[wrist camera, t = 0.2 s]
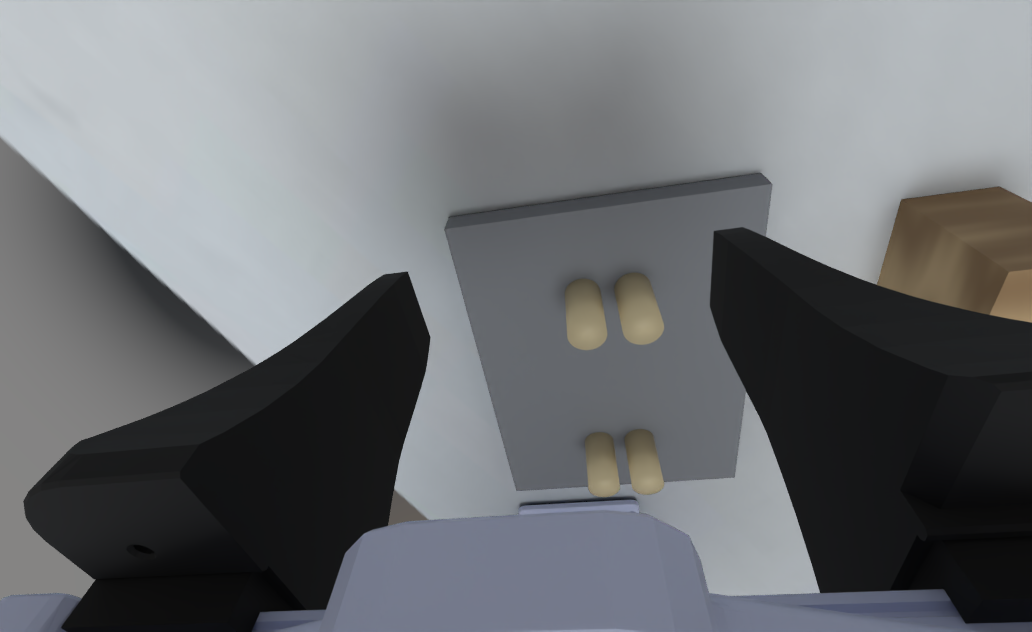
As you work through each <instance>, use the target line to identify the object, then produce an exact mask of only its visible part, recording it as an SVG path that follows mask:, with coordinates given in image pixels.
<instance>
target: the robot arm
mask: <svg viewBox="0 0 1032 632" xmlns="http://www.w3.org/2000/svg"><path fill="white" fill-rule="evenodd" d="M710 309H711V312H712V315H713V318H714V322H715V325H716V328H717V331H718V334H719V337H720V340H721V342H722V344H723V346H724V348H725V350H726V352H727V354H728V356H729V358H730V360H731V362H732V364H733V366H734V368H735V370H736V372H737V374H738V376H739V378H740V380H741V382H742V384H743V386H744V388H745V389H746V391H747V393H748V395H749V397H750V399H751V401H752V403H753V405H754V407H755V409H756V411H757V413H758V415H759V417H760V419H761V421H762V424H763V426H764V428H765V430H766V432H767V435H768V438H769V440H770V443H771V446H772V448H773V451H774V454H775V456H776V459H777V462H778V465H779V467H780V470H781V473H782V476H783V478H784V481H785V484H786V487H787V490H788V493H789V496H790V499H791V502H792V505H793V507H794V510H795V513H796V516H797V519H798V523H799V526H800V529H801V532H802V535H803V538H804V541H805V544H806V548H807V551H808V554H809V557H810V560H811V563H812V566H813V570H814V573H815V577H816V580H817V584H818V587H819V590H820V593H812V594H782V595H752V596H726V595H719V594H712V593H709V591H708V587H707V584H706V580H705V576H704V572H703V568H702V564H701V560H700V558H699V556H698V554H697V552H696V549H695V547H694V545H693V543H692V541H691V539H690V537H689V535H687V534H685V533H683V532H682V531H680V530H678V529H676V528H674V527H672V526H670V525H668V524H666V523H664V522H662V521H660V520H658V519H656V518H654V517H652V516H650V515H648V514H642V513H639V504H638V502H637V501H635V500H614V501H596V502H579V503H561V504H544V505H526V506H522V507H520V508H519V513H518V515H507V516H490V517H473V518H456V519H439V520H423V521H407V522H403V523H398V524H394V525H390V526H388V522H389V515H390V509H391V502H392V496H393V491H394V486H395V480H396V475H397V469H398V464H399V459H400V456H401V452H402V448H403V444H404V441H405V438H406V434H407V431H408V428H409V425H410V421H411V418H412V415H413V412H414V409H415V405H416V402H417V399H418V396H419V392H420V389H421V386H422V382H423V379H424V375H425V372H426V366H427V360H428V353H429V345H430V335H429V332H428V329H427V326H426V323H425V320H424V318H423V315H422V312H421V309H420V306H419V303H418V300H417V297H416V294H415V292H414V289H413V286H412V283H411V280H410V277H409V274H408V272H401V273H393V274H386V275H383V276H381V277H379V278H378V279H376V280H375V281H373V282H372V283H371V284H369V285H368V286H367V287H365V288H364V289H363V290H361V291H360V292H359V293H358V294H356V295H355V296H354V297H353V298H351V299H350V300H349V301H347V302H346V303H345V304H344V305H342V306H341V307H340V308H339V309H337V310H336V311H335V312H334V313H332V314H331V315H330V316H328V317H327V318H326V319H324V320H323V321H322V322H320V323H319V324H318V325H316V326H315V327H314V328H312V329H311V330H309V331H308V332H307V333H305V334H304V335H303V336H301V337H300V338H298V339H297V340H296V341H294V342H293V343H291V344H290V345H288V346H287V347H285V348H284V349H282V350H281V351H279V352H278V353H276V354H274V355H273V356H271V357H269V358H268V359H266V360H264V361H263V362H261V363H259V364H258V365H256V366H254V367H253V368H251V369H249V370H247V371H245V372H243V373H241V374H239V375H238V376H236V377H234V378H232V379H230V380H228V381H226V382H224V383H222V384H220V385H218V386H217V387H214V388H212V389H210V390H208V391H207V392H204V393H202V394H200V395H198V396H196V397H193V398H191V399H189V400H187V401H185V402H182V403H180V404H178V405H175V406H173V407H171V408H168V409H166V410H163V411H161V412H159V413H156V414H153V415H151V416H149V417H146V418H143V419H141V420H138V421H135V422H133V423H130V424H127V425H124V426H121V427H119V428H116V429H113V430H110V431H108V432H105V433H102V434H99V435H96V436H94V437H91V438H88V439H84V440H81V441H80V442H78V443H77V444H76V445H74V446H73V447H72V448H71V449H70V450H69V451H68V452H67V453H66V454H65V455H64V456H63V457H62V458H61V459H60V460H59V461H58V462H57V463H56V464H55V465H54V466H53V467H52V468H51V469H50V470H49V471H48V472H47V473H46V474H45V475H44V476H43V477H42V478H41V480H39V481H38V482H37V484H36V485H35V486H34V487H33V488H32V489H31V490H30V491H29V492H28V494H27V496H26V497H25V499H24V509H25V515H26V518H27V520H28V522H29V523H30V525H31V527H32V528H33V529H34V531H36V533H38V534H39V535H40V536H41V537H42V538H43V539H44V540H45V541H46V542H47V543H49V544H50V545H51V546H52V547H54V548H55V549H56V550H58V551H59V552H60V553H61V554H63V555H64V556H65V557H66V558H68V559H69V560H70V561H72V562H73V563H74V564H75V565H77V566H78V567H79V568H81V569H82V570H83V571H84V572H86V573H87V574H88V575H90V576H91V577H92V578H93V579H96V580H95V582H94V583H93V584H92V586H91V587H90V588H89V590H88V591H87V592H86V594H85V595H84V596H83V598H82V599H81V598H79V597H76V596H73V595H70V594H62V593H52V594H51V593H50V594H26V595H10V596H8V597H4V598H3V599H2V600H1V601H0V632H1032V322H1026V321H1020V320H1014V319H1008V318H1003V317H998V316H993V315H988V314H983V313H978V312H974V311H969V310H965V309H961V308H957V307H953V306H948V305H944V304H940V303H936V302H932V301H928V300H925V299H921V298H917V297H914V296H910V295H907V294H904V293H901V292H897V291H894V290H891V289H888V288H885V287H882V286H879V285H875V284H873V283H870V282H867V281H864V280H861V279H859V278H856V277H854V276H851V275H849V274H846V273H844V272H841V271H839V270H836V269H834V268H831V267H829V266H827V265H824V264H822V263H820V262H817V261H815V260H813V259H811V258H809V257H806V256H804V255H802V254H800V253H798V252H796V251H794V250H792V249H790V248H787V247H785V246H783V245H781V244H779V243H777V242H775V241H773V240H771V239H769V238H767V237H765V236H763V235H761V234H758V233H756V232H754V231H752V230H749V229H747V228H744V227H739V228H731V229H724V230H716V231H714V235H713V253H712V272H711V290H710Z"/></svg>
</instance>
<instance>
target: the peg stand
mask: <svg viewBox="0 0 1032 632" xmlns="http://www.w3.org/2000/svg"><path fill="white" fill-rule="evenodd" d="M771 191H772V183H771V182H770V181H769V180H768V179H767V178H766V177H765V176H764V175H763V174H762V173H759V174H751V175H744V176H737V177H730V178H723V179H716V180H709V181H702V182H695V183H688V184H681V185H674V186H666V187H659V188H652V189H645V190H638V191H631V192H624V193H617V194H610V195H603V196H596V197H588V198H581V199H574V200H567V201H560V202H553V203H546V204H539V205H532V206H525V207H518V208H511V209H503V210H496V211H489V212H482V213H475V214H468V215H461V216H454V217H449V218H448V221H447V224H446V226H445V233H446V237H447V240H448V244H449V248H450V251H451V255H452V258H453V262H454V266H455V269H456V273H457V277H458V280H459V284H460V288H461V291H462V295H463V298H464V302H465V306H466V309H467V313H468V317H469V320H470V324H471V327H472V331H473V335H474V338H475V342H476V346H477V349H478V353H479V356H480V360H481V364H482V367H483V371H484V375H485V378H486V382H487V385H488V389H489V393H490V396H491V400H492V404H493V407H494V411H495V414H496V418H497V422H498V425H499V429H500V433H501V436H502V440H503V443H504V447H505V451H506V454H507V458H508V462H509V465H510V469H511V473H512V476H513V480H514V483H515V487H516V491H523V490H539V489H556V488H572V487H588V488H589V491H590V492H591V493H592V494H593V495H595V496H598V497H609V496H613V495H615V494H616V493H617V492H618V491H619V490H620V485H621V484H632V488H633V490H634V491H635V492H637V493H639V494H644V495H649V494H654V493H657V492H659V491H660V490H661V489H662V488H663V487H664V482H669V481H686V480H702V479H718V478H734V477H735V470H736V463H737V455H738V447H739V439H740V431H741V424H742V416H743V408H744V400H745V393H746V389H745V388H744V386H743V384H742V382H741V380H740V378H739V376H738V374H737V372H736V370H735V368H734V366H733V364H732V362H731V360H730V358H729V356H728V354H727V352H726V350H725V348H724V346H723V344H722V342H721V340H720V337H719V334H718V331H717V328H716V325H715V322H714V318H713V315H712V312H711V309H710V290H711V272H712V253H713V235H714V231H716V230H724V229H731V228H739V227H744V228H747V229H749V230H752V231H754V232H756V233H758V234H761V235H763V236H765V237H766V229H767V222H768V214H769V206H770V198H771Z"/></svg>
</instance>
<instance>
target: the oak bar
mask: <svg viewBox="0 0 1032 632" xmlns="http://www.w3.org/2000/svg"><path fill="white" fill-rule="evenodd" d="M877 285H879V286H882V287H885V288H888V289H891V290H894V291H897V292H901V293H904V294H907V295H910V296H914V297H917V298H921V299H925V300H928V301H932V302H936V303H940V304H944V305H948V306H953V307H957V308H961V309H965V310H969V311H974V312H978V313H983V314H988V315H993V316H998V317H1003V318H1008V319H1014V320H1020V321H1026V322H1032V202H1030V201H1027V200H1025V199H1023V198H1021V197H1019V196H1017V195H1015V194H1013V193H1011V192H1009V191H1007V190H1005V189H1003V188H1001V187H993V188H985V189H977V190H970V191H962V192H955V193H947V194H940V195H932V196H924V197H917V198H909V199H902V200H901V202H900V206H899V209H898V213H897V216H896V220H895V223H894V227H893V230H892V234H891V237H890V241H889V244H888V248H887V251H886V255H885V258H884V262H883V266H882V269H881V273H880V276H879V280H878V283H877Z"/></svg>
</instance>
